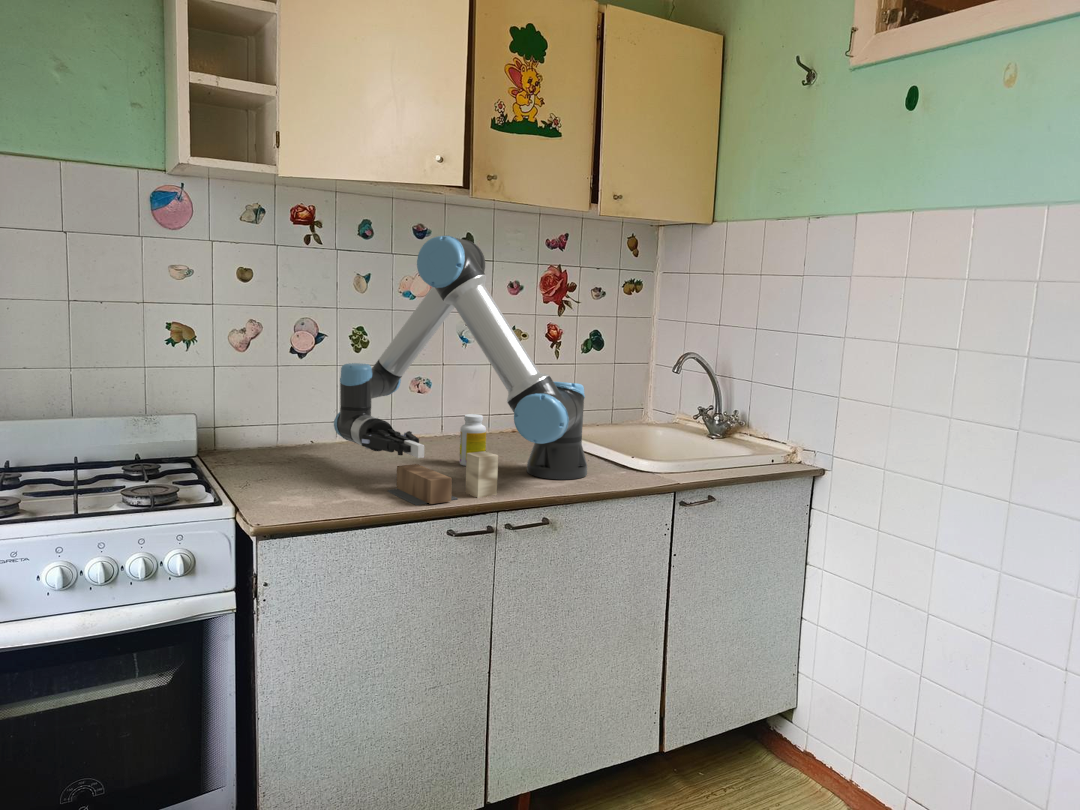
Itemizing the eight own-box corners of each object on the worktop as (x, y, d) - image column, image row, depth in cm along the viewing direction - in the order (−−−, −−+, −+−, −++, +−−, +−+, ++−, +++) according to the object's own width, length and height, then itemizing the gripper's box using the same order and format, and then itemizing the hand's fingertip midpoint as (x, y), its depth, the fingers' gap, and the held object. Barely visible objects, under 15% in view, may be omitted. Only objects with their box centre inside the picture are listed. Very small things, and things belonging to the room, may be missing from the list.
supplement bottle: (490, 465, 203) (492, 416, 201) (470, 468, 198) (472, 418, 196) (473, 460, 207) (475, 412, 205) (454, 463, 203) (455, 414, 201)
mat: (427, 486, 179) (427, 484, 179) (457, 499, 169) (457, 498, 169) (387, 491, 173) (387, 490, 173) (416, 505, 163) (416, 504, 163)
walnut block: (417, 463, 177) (451, 478, 165) (416, 485, 178) (451, 501, 166) (397, 466, 174) (431, 480, 162) (396, 488, 175) (430, 504, 163)
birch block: (484, 490, 178) (485, 451, 176) (496, 495, 174) (498, 455, 172) (465, 492, 175) (466, 453, 173) (477, 498, 171) (479, 457, 169)
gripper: (397, 446, 193) (446, 465, 175) (347, 451, 185) (393, 471, 167) (397, 416, 192) (447, 432, 173) (347, 419, 184) (394, 437, 166)
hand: (421, 451), depth 170 cm, fingers closed
